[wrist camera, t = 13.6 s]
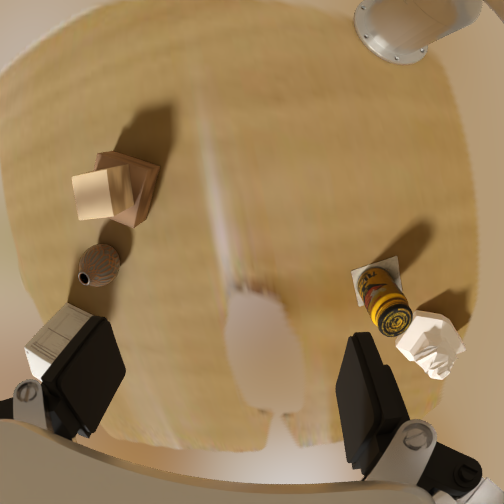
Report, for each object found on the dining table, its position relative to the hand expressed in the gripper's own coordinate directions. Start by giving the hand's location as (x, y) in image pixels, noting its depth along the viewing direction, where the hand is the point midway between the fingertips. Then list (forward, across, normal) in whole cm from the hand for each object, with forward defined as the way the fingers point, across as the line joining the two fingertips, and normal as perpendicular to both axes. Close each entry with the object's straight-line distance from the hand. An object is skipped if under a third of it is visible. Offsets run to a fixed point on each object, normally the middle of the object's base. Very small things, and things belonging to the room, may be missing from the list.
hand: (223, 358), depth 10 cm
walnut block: (+34, +21, -2) cm, 40 cm away
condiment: (+34, -20, +14) cm, 42 cm away
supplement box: (+34, +39, +28) cm, 59 cm away
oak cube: (+29, +21, -2) cm, 36 cm away
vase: (+34, +27, +11) cm, 44 cm away
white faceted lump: (+34, -34, +26) cm, 54 cm away
